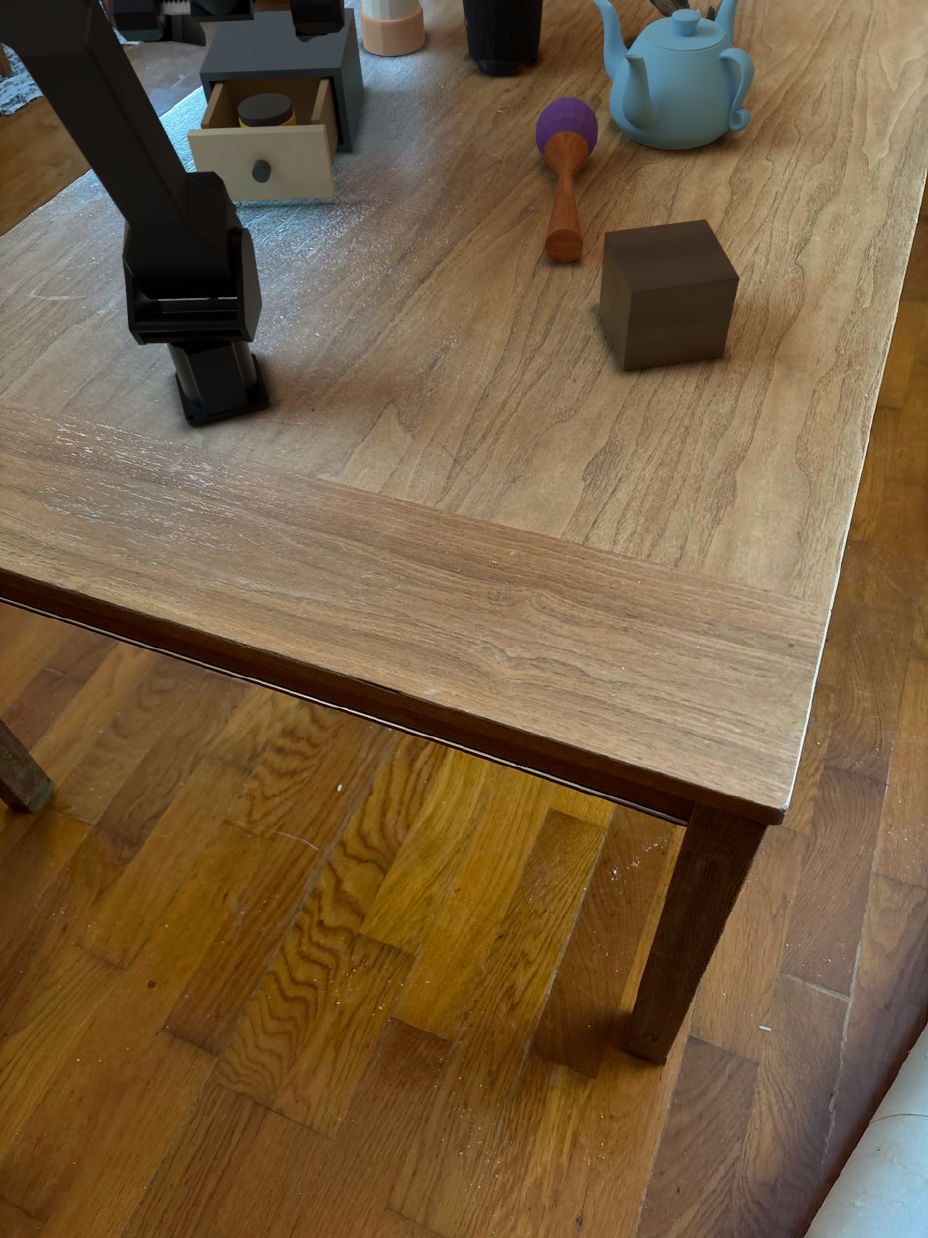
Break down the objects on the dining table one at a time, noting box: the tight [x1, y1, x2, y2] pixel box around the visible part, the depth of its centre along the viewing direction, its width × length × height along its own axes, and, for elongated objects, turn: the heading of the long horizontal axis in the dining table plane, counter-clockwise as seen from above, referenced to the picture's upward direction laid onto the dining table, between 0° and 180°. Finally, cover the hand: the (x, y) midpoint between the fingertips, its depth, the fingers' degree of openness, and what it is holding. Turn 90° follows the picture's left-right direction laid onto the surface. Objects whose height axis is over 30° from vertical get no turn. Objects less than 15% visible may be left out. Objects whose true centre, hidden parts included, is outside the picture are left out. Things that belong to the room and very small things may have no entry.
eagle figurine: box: [626, 0, 723, 50], centre depth 103 cm, size 8×7×9 cm
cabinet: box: [198, 7, 365, 154], centre depth 96 cm, size 14×14×8 cm
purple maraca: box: [535, 96, 599, 263], centre depth 86 cm, size 6×6×20 cm
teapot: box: [592, 0, 755, 151], centre depth 91 cm, size 15×15×10 cm
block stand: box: [598, 218, 741, 372], centre depth 73 cm, size 8×8×7 cm
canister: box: [238, 93, 296, 128], centre depth 89 cm, size 5×5×5 cm
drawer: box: [186, 76, 340, 203], centre depth 89 cm, size 14×12×6 cm
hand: (254, 38), depth 84 cm, fingers open, 9 cm apart
